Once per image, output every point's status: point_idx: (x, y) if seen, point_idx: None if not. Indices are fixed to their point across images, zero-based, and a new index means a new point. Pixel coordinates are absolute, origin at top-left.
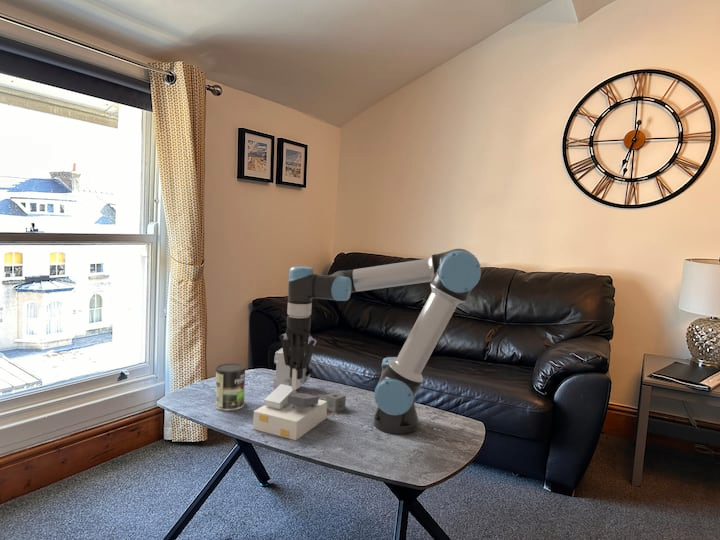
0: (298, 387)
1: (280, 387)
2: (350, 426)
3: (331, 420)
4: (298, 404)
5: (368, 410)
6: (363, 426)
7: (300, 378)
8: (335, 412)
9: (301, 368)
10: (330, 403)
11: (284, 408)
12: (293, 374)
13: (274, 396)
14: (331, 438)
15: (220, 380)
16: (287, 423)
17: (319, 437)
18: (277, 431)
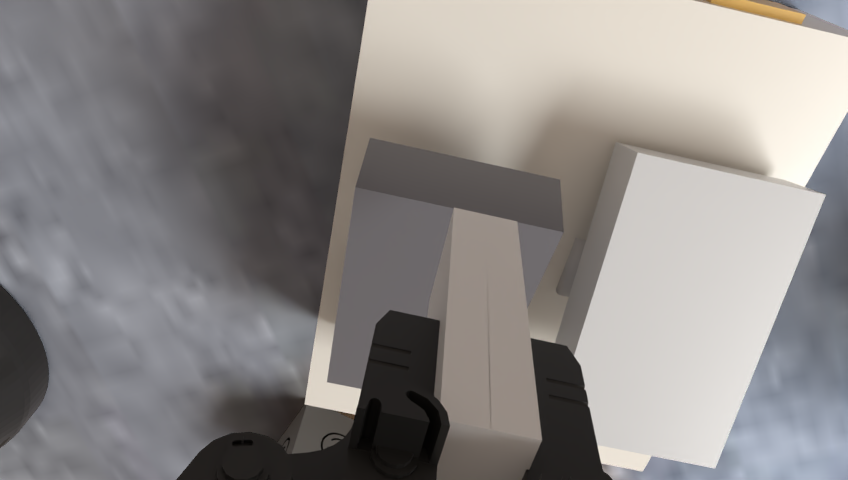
0: (436, 275)
1: (703, 414)
2: (139, 252)
3: (285, 299)
4: (427, 156)
5: (147, 460)
6: (68, 272)
7: (381, 329)
8: None
9: (326, 459)
10: None
11: (588, 192)
12: (504, 353)
13: (726, 262)
14: (166, 41)
15: None
16: None
17: (251, 29)
18: None
